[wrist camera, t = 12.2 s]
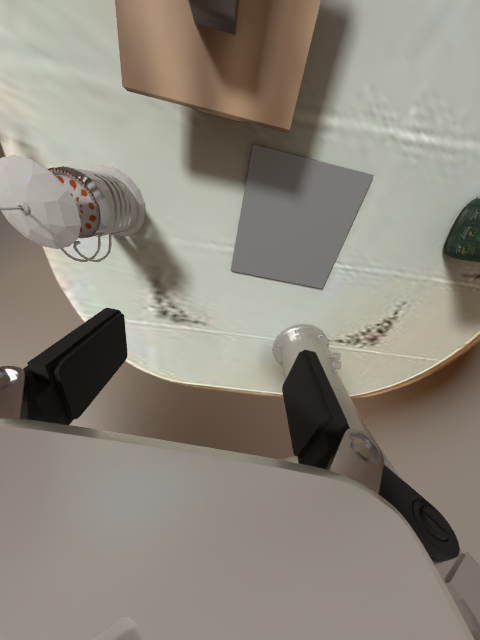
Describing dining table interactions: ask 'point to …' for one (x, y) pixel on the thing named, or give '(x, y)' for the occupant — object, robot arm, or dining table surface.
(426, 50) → the dining table surface
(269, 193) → the mat
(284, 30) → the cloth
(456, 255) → the coffee jar
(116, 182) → the lantern
